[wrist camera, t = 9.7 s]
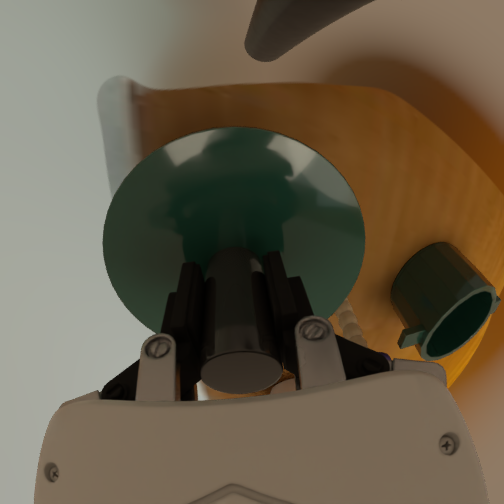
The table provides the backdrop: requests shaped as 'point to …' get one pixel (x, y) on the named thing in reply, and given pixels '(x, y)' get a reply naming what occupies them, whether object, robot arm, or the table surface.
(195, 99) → the table surface
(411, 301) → the pot
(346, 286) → the lid
